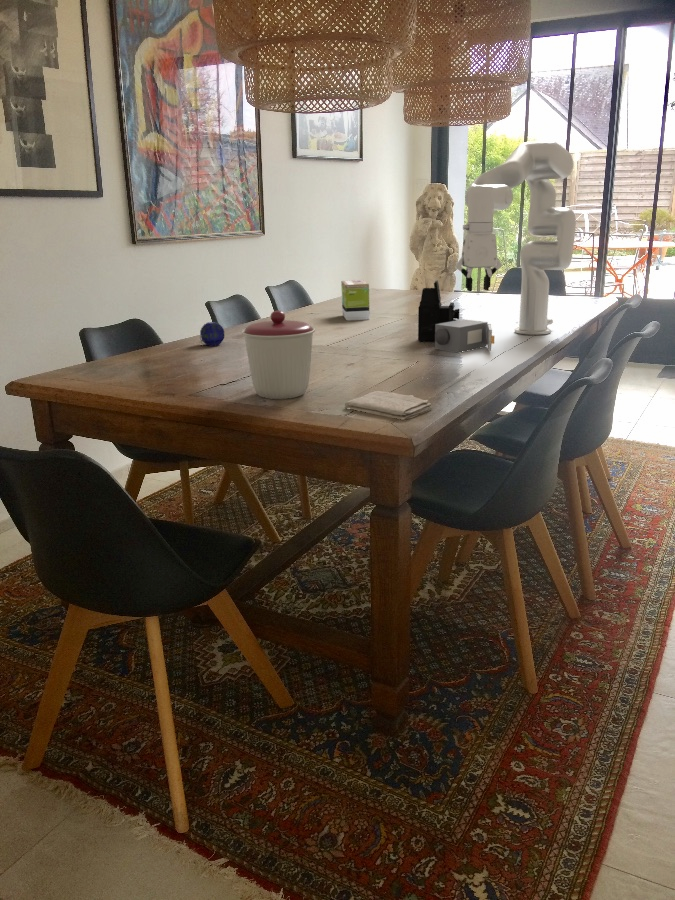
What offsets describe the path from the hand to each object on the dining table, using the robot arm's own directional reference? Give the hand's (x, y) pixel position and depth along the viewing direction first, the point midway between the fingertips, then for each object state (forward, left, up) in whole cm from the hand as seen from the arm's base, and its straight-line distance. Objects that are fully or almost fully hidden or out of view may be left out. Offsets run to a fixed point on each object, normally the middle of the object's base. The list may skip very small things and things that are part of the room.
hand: (477, 289), depth 230 cm
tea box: (-26, -84, -20) cm, 90 cm away
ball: (+50, -75, -20) cm, 92 cm away
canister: (+77, -1, -20) cm, 79 cm away
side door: (-5, +2, -18) cm, 19 cm away
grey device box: (-2, -8, -19) cm, 21 cm away
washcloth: (+68, +28, -20) cm, 76 cm away
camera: (-7, -22, -20) cm, 30 cm away
